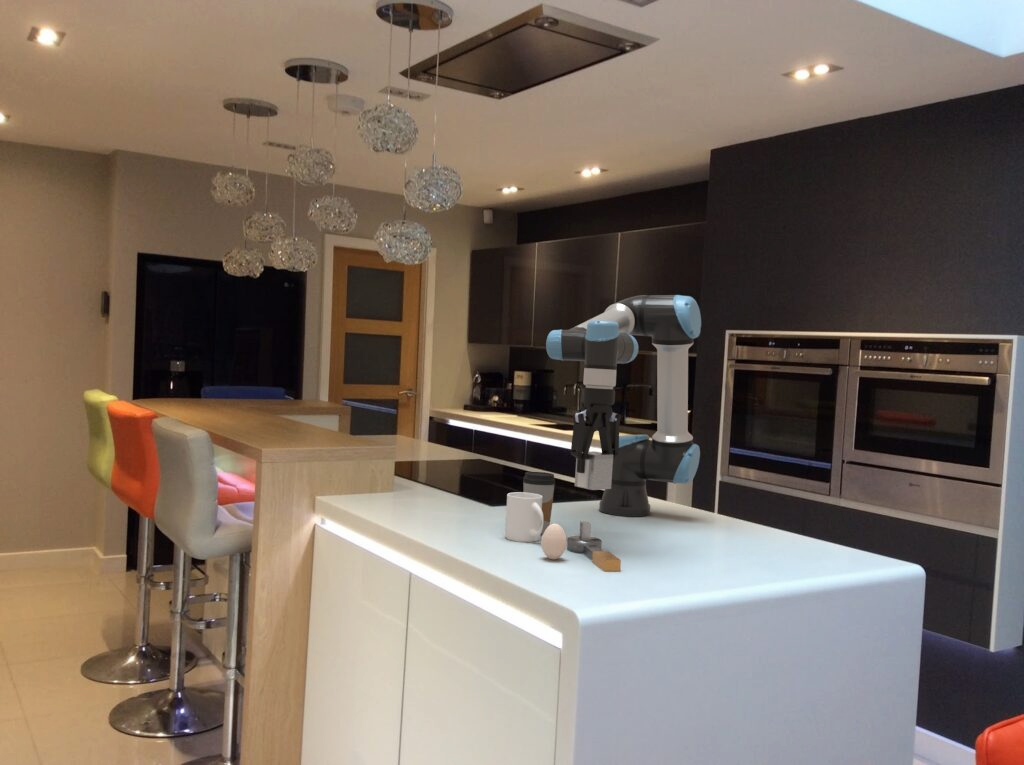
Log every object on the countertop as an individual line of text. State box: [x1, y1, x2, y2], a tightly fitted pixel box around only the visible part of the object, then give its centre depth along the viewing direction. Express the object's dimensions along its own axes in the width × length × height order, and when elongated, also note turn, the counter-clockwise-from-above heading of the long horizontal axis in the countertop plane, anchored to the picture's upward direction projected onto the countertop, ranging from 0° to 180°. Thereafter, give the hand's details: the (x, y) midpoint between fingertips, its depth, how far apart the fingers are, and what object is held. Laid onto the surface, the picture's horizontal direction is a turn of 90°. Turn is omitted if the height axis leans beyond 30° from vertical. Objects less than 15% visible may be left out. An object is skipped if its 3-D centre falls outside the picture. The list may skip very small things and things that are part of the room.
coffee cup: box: [522, 471, 556, 536], centre depth 216 cm, size 8×8×15 cm
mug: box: [504, 491, 544, 543], centre depth 206 cm, size 9×12×11 cm
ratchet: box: [566, 520, 622, 572], centre depth 191 cm, size 8×24×6 cm, turn 13°
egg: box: [541, 523, 567, 560], centre depth 188 cm, size 6×6×8 cm
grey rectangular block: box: [574, 451, 613, 491], centre depth 198 cm, size 6×6×8 cm
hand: (593, 486), depth 199 cm, fingers closed on grey rectangular block, 6 cm apart
